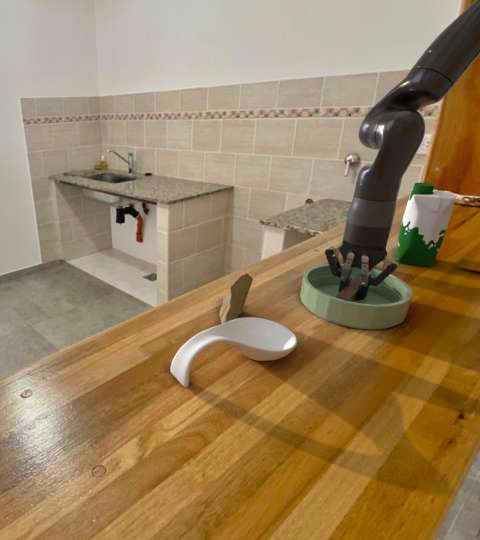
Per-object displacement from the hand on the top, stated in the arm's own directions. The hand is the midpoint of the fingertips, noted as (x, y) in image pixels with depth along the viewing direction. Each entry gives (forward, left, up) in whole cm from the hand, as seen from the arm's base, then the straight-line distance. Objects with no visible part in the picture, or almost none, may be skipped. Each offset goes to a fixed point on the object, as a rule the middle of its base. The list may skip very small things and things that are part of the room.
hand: (351, 297), depth 81 cm
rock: (+16, +22, -2) cm, 27 cm away
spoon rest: (+8, +33, -2) cm, 34 cm away
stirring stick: (0, 0, 0) cm, 0 cm away
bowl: (0, 0, -2) cm, 2 cm away
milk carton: (-4, -35, -2) cm, 35 cm away
